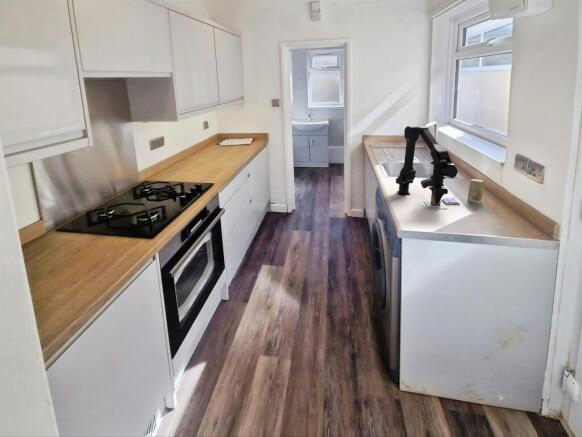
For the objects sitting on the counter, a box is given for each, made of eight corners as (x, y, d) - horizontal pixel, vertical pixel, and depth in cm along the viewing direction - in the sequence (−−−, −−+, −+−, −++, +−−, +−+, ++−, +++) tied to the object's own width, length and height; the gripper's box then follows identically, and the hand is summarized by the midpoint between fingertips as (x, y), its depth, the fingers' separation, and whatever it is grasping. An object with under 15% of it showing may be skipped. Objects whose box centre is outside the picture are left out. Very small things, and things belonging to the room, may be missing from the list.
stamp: (430, 203, 225) (431, 193, 223) (437, 203, 225) (439, 193, 223) (432, 206, 221) (433, 195, 219) (440, 206, 221) (441, 195, 219)
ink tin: (441, 199, 233) (442, 197, 232) (454, 199, 232) (454, 197, 232) (446, 204, 224) (446, 202, 224) (460, 204, 224) (460, 202, 223)
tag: (423, 202, 229) (423, 201, 229) (440, 202, 228) (440, 201, 228) (429, 209, 218) (429, 208, 218) (447, 209, 217) (447, 208, 217)
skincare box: (466, 201, 229) (469, 179, 225) (469, 199, 232) (472, 178, 228) (478, 203, 225) (481, 181, 221) (481, 202, 228) (484, 180, 224)
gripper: (418, 170, 227) (416, 197, 232) (427, 178, 209) (424, 207, 214) (439, 170, 226) (436, 197, 231) (449, 178, 208) (446, 207, 214)
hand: (435, 202), depth 223 cm, fingers closed on stamp, 4 cm apart
